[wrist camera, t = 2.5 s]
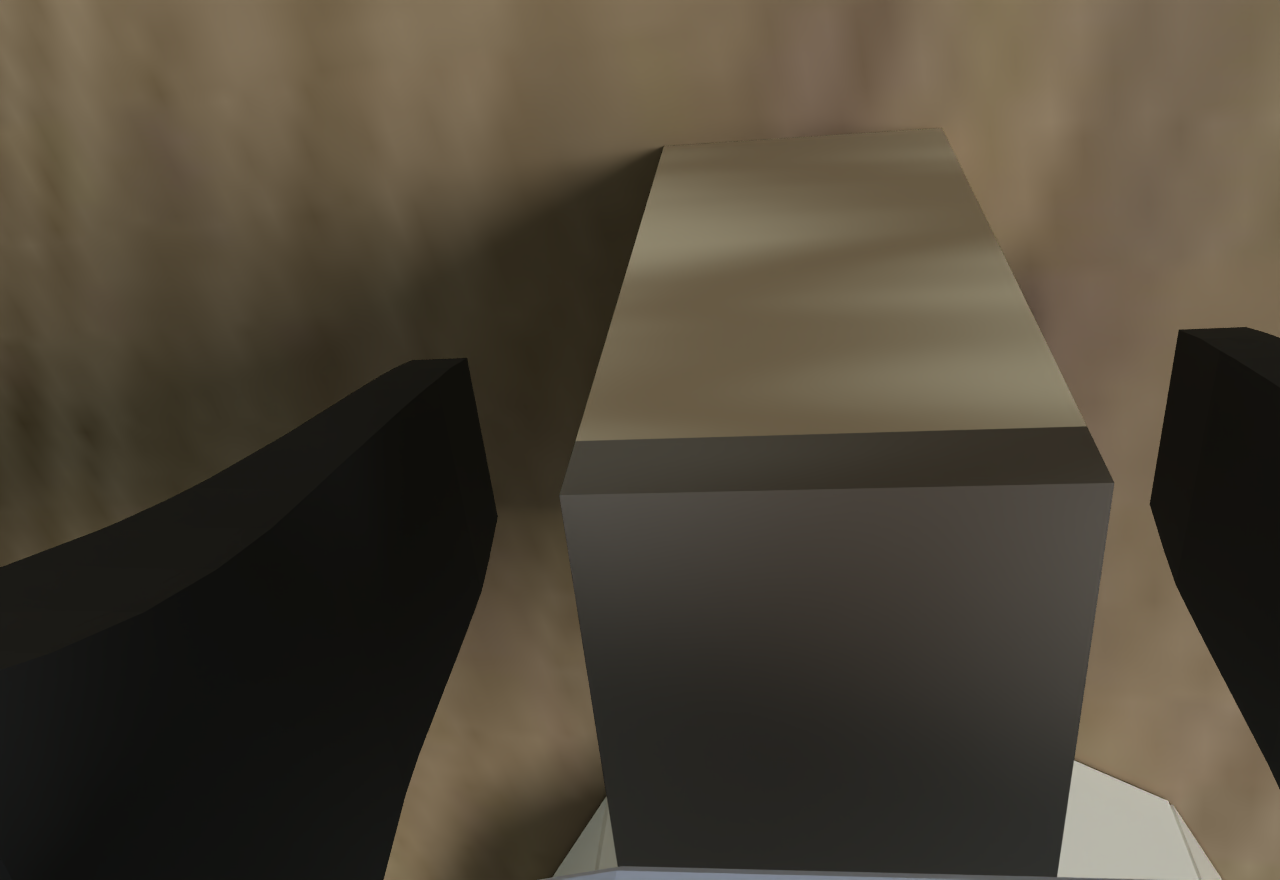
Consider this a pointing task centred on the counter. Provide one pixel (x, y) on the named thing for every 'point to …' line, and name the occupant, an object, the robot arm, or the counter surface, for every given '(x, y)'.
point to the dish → (1091, 847)
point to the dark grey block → (832, 524)
